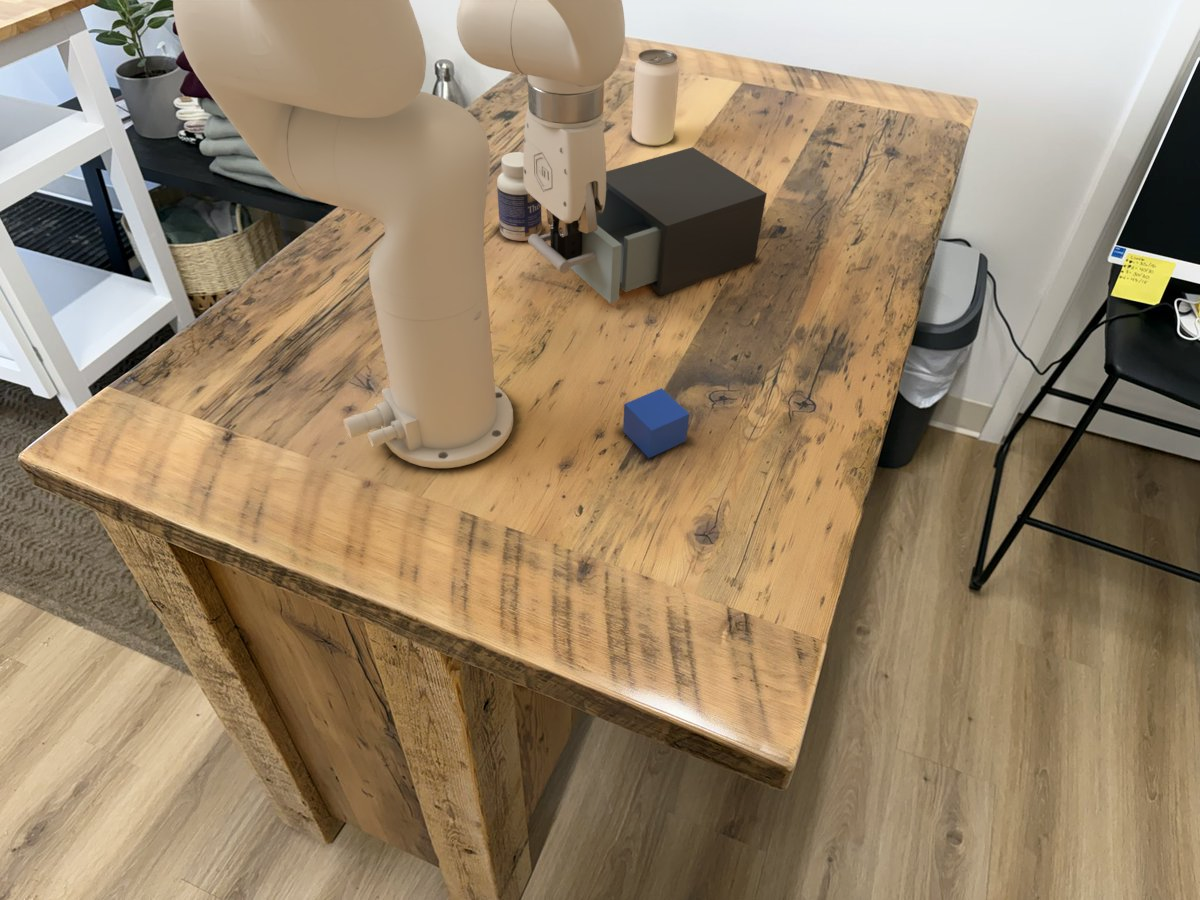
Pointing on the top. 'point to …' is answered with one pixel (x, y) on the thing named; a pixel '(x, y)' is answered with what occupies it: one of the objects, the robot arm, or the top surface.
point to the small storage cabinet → (693, 214)
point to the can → (655, 97)
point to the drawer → (612, 250)
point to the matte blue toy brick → (655, 422)
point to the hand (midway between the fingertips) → (566, 259)
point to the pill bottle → (516, 201)
